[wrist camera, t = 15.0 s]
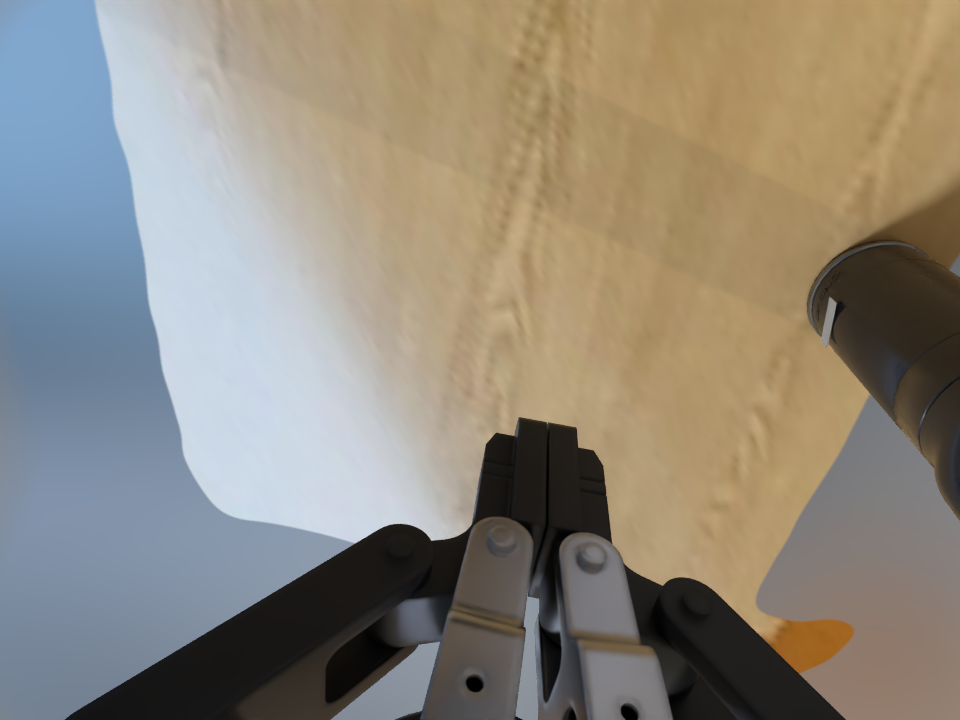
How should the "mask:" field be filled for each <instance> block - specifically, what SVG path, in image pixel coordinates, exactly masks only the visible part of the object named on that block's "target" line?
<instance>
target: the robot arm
mask: <svg viewBox="0 0 960 720" xmlns="http://www.w3.org/2000/svg"><path fill="white" fill-rule="evenodd" d="M807 313H808V317H809V320H810V323H811V325H812V326H813V328H814V329H815V330H816V332H817V333H818V334H819V335H820V336H821V342H822V344H823V345H824V346H825V347H826V348H827V347H828V344H829V345H830V346H831V347H832V349H833V350H834V351H835V353H836V354H837V355H838V356H839V357H840V358H841V360H842V361H843V362H844V363H845V364H846V365H847V367H848V368H849V369H850V370H851V371H852V373H853V374H854V375H855V376H856V377H857V378H858V380H859V381H860V382H861V383H862V384H863V386H864V387H865V388H866V389H867V390H868V391H869V393H870V394H871V395H872V396H873V397H874V399H875V400H876V401H877V402H878V403H879V404H880V406H881V407H882V408H883V409H884V410H885V411H886V413H887V414H888V415H889V416H890V417H891V419H892V420H893V421H894V422H895V423H896V425H897V426H898V427H899V428H900V429H901V430H902V431H903V432H904V434H905V435H906V436H907V437H908V438H909V439H910V441H911V442H912V443H913V444H914V445H915V447H916V448H917V449H918V450H919V451H920V452H921V454H922V455H923V456H924V457H925V458H926V459H927V460H928V462H929V463H930V464H931V465H932V467H933V468H934V470H935V478H936V482H937V485H938V488H939V491H940V493H941V495H942V496H943V498H944V500H945V501H946V502H947V504H948V505H949V506H950V508H951V509H952V511H953V512H954V513H955V515H956V516H957V517H958V519H959V520H960V277H958V276H957V275H955V274H954V273H952V272H951V271H949V270H948V269H946V268H945V267H943V266H942V265H940V264H939V263H937V262H936V261H934V260H932V259H931V258H929V256H928V255H926V254H925V253H924V252H922V251H921V250H919V249H918V248H916V247H914V246H912V245H910V244H907V243H904V242H900V241H890V240H885V241H875V242H870V243H866V244H863V245H860V246H857V247H855V248H852V249H850V250H848V251H846V252H845V253H843V254H841V255H840V256H838V257H837V258H836V259H834V260H833V261H832V262H831V263H829V264H828V265H827V266H826V267H825V268H824V269H823V271H822V272H821V273H820V274H819V275H818V277H817V278H816V280H815V282H814V283H813V285H812V288H811V290H810V293H809V296H808V301H807ZM604 483H605V478H604V469H603V465H602V463H601V461H600V460H599V458H598V457H597V455H596V454H595V452H594V451H593V450H588V449H582V448H578V440H577V429H576V427H571V426H565V425H560V424H554V423H549V422H548V424H547V423H546V422H543V421H537V420H532V419H526V418H521V417H519V418H518V422H517V426H516V430H515V435H514V436H511V435H505V434H500V433H496V434H495V435H494V436H493V437H492V438H491V439H490V440H489V442H488V443H487V444H486V447H485V453H484V458H483V463H482V468H481V473H480V478H479V483H478V489H477V495H476V502H475V508H474V514H473V521H472V525H471V526H470V528H469V529H468V530H467V531H466V532H464V533H463V534H461V535H459V536H457V537H454V538H451V539H445V540H435V541H431V540H430V538H429V537H428V536H427V534H426V533H424V532H423V531H422V530H420V529H418V528H416V527H414V526H411V525H406V524H393V525H388V526H385V527H383V528H381V529H379V530H377V531H376V532H374V533H372V534H371V535H369V536H367V537H366V538H364V539H362V540H361V541H359V542H357V543H356V544H354V545H352V546H351V547H349V548H347V549H346V550H344V551H342V552H341V553H339V554H337V555H336V556H334V557H332V558H331V559H329V560H327V561H326V562H324V563H322V564H321V565H319V566H317V567H316V568H314V569H312V570H311V571H309V572H307V573H306V574H304V575H302V576H301V577H299V578H297V579H296V580H294V581H292V582H291V583H289V584H287V585H286V586H284V587H282V588H281V589H279V590H277V591H276V592H274V593H272V594H271V595H269V596H267V597H266V598H264V599H262V600H261V601H259V602H257V603H256V604H254V605H252V606H251V607H249V608H247V609H246V610H244V611H242V612H241V613H239V614H237V615H236V616H234V617H232V618H231V619H229V620H227V621H226V622H224V623H222V624H221V625H219V626H217V627H216V628H214V629H213V630H211V631H209V632H207V633H206V634H204V635H202V636H201V637H199V638H197V639H196V640H194V641H192V642H191V643H189V644H187V645H186V646H184V647H182V648H181V649H179V650H177V651H176V652H174V653H172V654H171V655H169V656H167V657H166V658H164V659H162V660H161V661H159V662H157V663H156V664H154V665H152V666H151V667H149V668H147V669H146V670H144V671H142V672H141V673H139V674H137V675H136V676H134V677H132V678H131V679H129V680H127V681H126V682H124V683H122V684H121V685H119V686H117V687H116V688H114V689H112V690H111V691H109V692H107V693H106V694H104V695H102V696H101V697H99V698H97V699H96V700H94V701H92V702H91V703H89V704H87V705H86V706H84V707H83V708H81V709H79V710H77V711H76V712H74V713H73V714H71V715H70V716H69V717H67V718H66V719H65V720H330V719H332V718H333V717H334V716H335V715H337V714H338V713H339V712H340V711H342V710H343V709H344V708H345V707H346V706H348V705H349V704H350V703H351V702H353V701H354V700H355V699H356V698H358V697H359V696H360V695H361V694H362V693H363V692H365V691H366V690H367V689H369V688H370V687H371V686H372V685H374V684H375V683H376V682H377V681H378V680H380V679H381V678H382V677H383V676H385V675H386V674H387V673H388V672H389V671H390V670H392V669H393V668H394V667H395V666H397V665H398V664H399V663H401V661H403V660H404V659H405V658H407V657H408V656H409V655H410V654H411V653H412V652H414V650H415V649H416V648H417V647H418V645H419V644H426V643H433V642H440V645H439V649H438V652H437V656H436V660H435V664H434V668H433V671H432V675H431V680H430V683H429V687H428V690H427V694H426V698H425V702H424V706H423V710H422V711H420V712H416V713H412V714H408V715H406V716H403V717H400V718H398V719H396V720H522V719H520V718H518V717H516V716H515V714H516V706H517V699H518V691H519V683H520V675H521V667H522V659H523V651H524V642H525V633H526V630H525V627H523V626H524V617H525V609H526V601H527V594H528V597H534V598H539V614H538V617H537V621H536V624H535V629H534V635H535V653H536V673H537V692H538V720H846V719H845V718H844V717H842V716H841V715H840V714H839V713H838V712H837V711H836V710H835V709H834V708H833V707H832V706H831V705H830V704H829V703H828V702H827V701H826V700H825V699H824V698H823V697H822V696H821V695H820V694H819V693H818V692H817V691H816V690H815V689H814V688H813V687H812V686H811V685H810V684H809V683H807V681H806V680H804V678H802V676H801V675H800V674H799V673H798V672H796V671H795V670H794V669H793V668H792V667H791V666H790V665H789V664H788V663H787V662H786V661H785V660H784V659H783V658H782V657H781V656H780V655H779V654H778V653H777V652H776V651H775V650H774V649H773V648H772V647H771V646H770V645H769V644H768V643H767V642H766V641H765V640H764V639H763V638H762V637H761V636H760V635H759V634H758V633H757V632H756V631H755V630H754V629H752V628H751V627H750V626H749V625H748V624H747V623H746V622H745V621H744V620H743V619H742V618H741V617H740V616H739V615H738V614H737V613H736V612H735V611H734V610H733V609H732V608H731V607H730V606H729V605H728V604H727V603H726V602H725V601H724V600H723V599H722V598H721V597H720V596H719V595H718V594H717V593H716V592H714V591H713V590H712V589H711V588H709V587H708V586H707V585H705V584H703V583H701V582H699V581H696V580H694V579H690V578H684V577H682V578H673V579H671V580H669V581H667V582H666V583H665V584H664V585H663V586H662V585H659V584H657V583H655V582H653V581H651V580H649V579H647V578H644V577H642V576H640V575H639V574H637V573H635V572H634V571H632V570H631V569H629V568H628V567H627V566H626V565H625V564H624V563H623V560H622V557H621V555H620V553H619V551H618V550H617V549H616V548H615V547H614V546H613V545H612V539H611V530H610V521H609V513H608V504H607V496H606V486H605V484H604Z"/></svg>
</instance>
